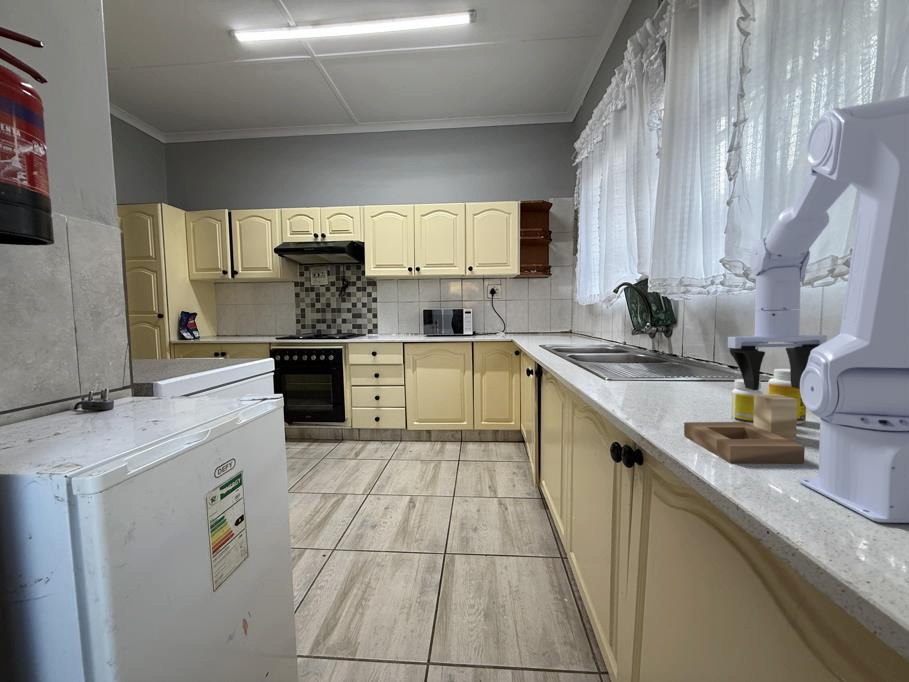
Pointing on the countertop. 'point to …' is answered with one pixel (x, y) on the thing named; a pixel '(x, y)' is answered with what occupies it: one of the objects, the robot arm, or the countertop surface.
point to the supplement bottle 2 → (787, 391)
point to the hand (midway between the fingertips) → (774, 388)
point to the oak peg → (776, 414)
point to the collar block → (743, 443)
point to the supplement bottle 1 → (743, 402)
